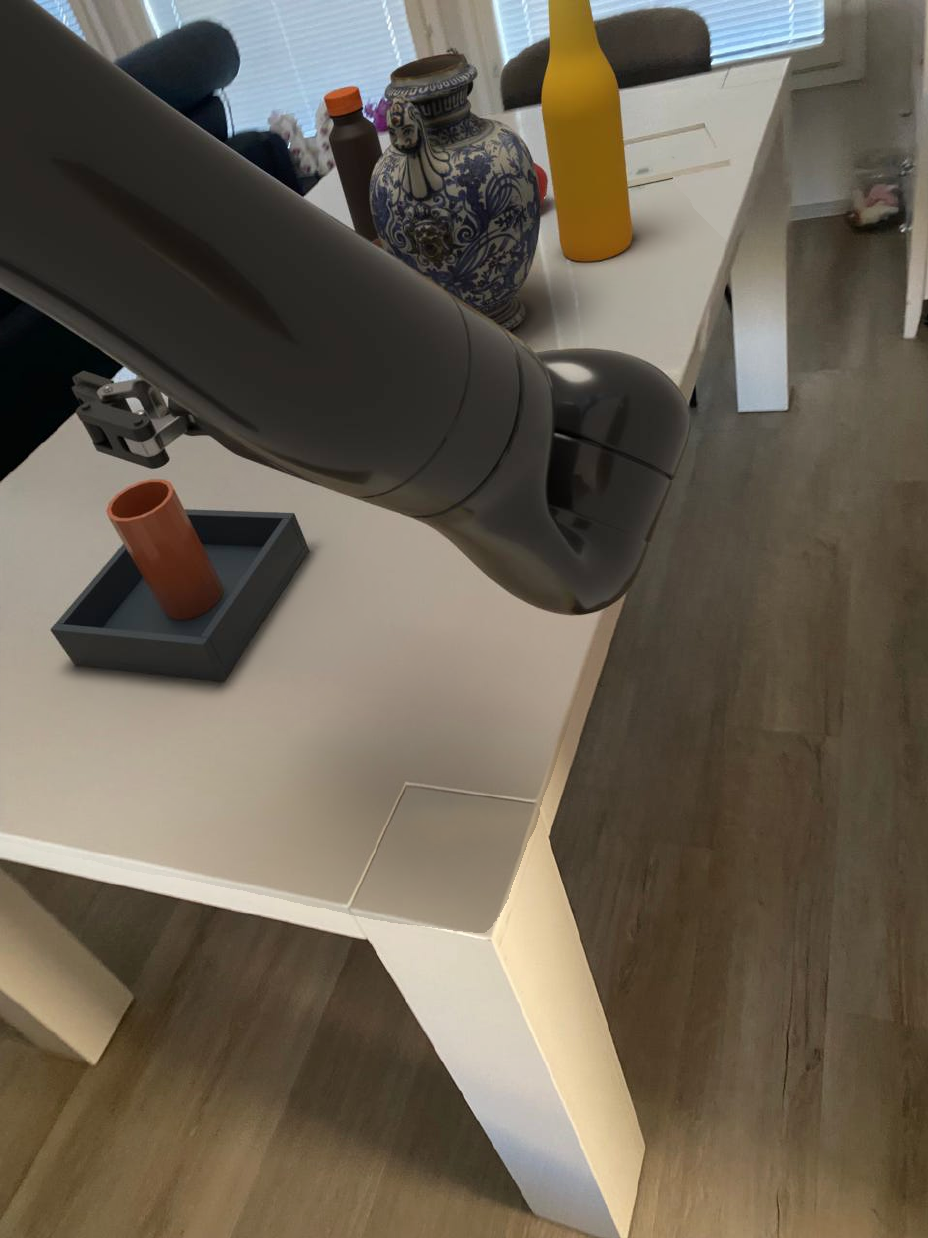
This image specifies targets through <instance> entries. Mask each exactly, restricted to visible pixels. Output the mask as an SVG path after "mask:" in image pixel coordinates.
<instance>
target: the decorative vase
mask: <svg viewBox="0 0 928 1238" xmlns="http://www.w3.org/2000/svg"><path fill="white" fill-rule="evenodd" d="M478 75H479V73H478V70H477V68H476V66H474V65H473V64H471V63H468V60H467V57H466V56H465V54H464V53H460V52H459V50H458V49H457V48H456V47H453V46H452V47H451V46H450V47H448V48H447V49H446V51H445V53H443V54H436V55H432V56H426V57H422V58H420V59H417V60H413V61H410V62H408V63H405V64H403V65H401V66H399V67H397V68H396V69H395V70H393V71H392V72H391V73H390V76H389V77H390V83H389V84H388V85H387V86H386V87H385V89H384V92H383V93H384V94H383V95H384V98H385V99H386V100H387V101H390V102H392V105H391V107H390V108H386V111H385V123H386V129H387V133H388V136H389V137H388V138H389V141H390V144H389V145H388V146H387V148H386V149H385V151H384V152H382V153H383V155H382V156H381V157H380V159H379V160H378V162H377V163H376V165H375V168H374V170H373V173H372V176H371V181H370V189H369V196H370V206H371V212H372V216H373V221H374V224H375V228H376V231H377V234H378V237H379V239H380V242H381V244H382V246H383V249H384V250H385V251H387V252H388V253H390V254H391V255H393V256H395V257H396V258H398V259H399V260H401V261H402V262H404V263H406V264H407V265H409V266H410V267H412V268H413V269H415V270H416V271H418V272H420V273H421V274H423V275H424V276H426V277H427V278H429V279H431V280H432V281H434V282H435V283H437V284H438V285H439V286H441V287H442V288H444V289H446V290H447V291H449V292H450V293H452V294H453V295H455V296H456V297H458V298H459V299H461V300H462V301H464V302H465V303H467V304H468V305H470V306H471V307H473V308H474V309H476V310H478V311H479V312H481V313H482V314H484V315H485V316H487V317H488V318H490V319H491V320H493V321H494V322H496V323H497V324H499V325H500V326H502V327H503V328H505V329H507V330H508V331H510V332H511V331H513V330H514V329H516V328H517V327H518V326H519V325H520V324H521V323H522V322H523V321H524V319H525V316H526V309H525V308H526V307H525V305H524V303H523V302H522V301H521V300H520V299H519V298H517V297H515V296H516V295H517V293H518V292H519V291H520V289H521V288H522V287H523V285H524V284H525V282H526V280H527V278H528V276H529V273H530V271H531V268H532V266H533V262H534V259H535V255H536V251H537V246H538V241H539V234H540V229H541V214H542V213H541V212H542V211H541V210H542V208H541V204H540V192H539V184H538V178H537V173H536V169H535V165H534V163H535V162H534V159H533V156H532V154H531V151H530V149H529V147H528V145H527V144H526V142H525V141H524V139H523V138H522V137H521V136H520V134H518V133H517V132H516V131H515V130H514V129H513V128H512V127H511V126H509V125H507V124H506V123H504V122H501V121H498V120H495V119H490V118H484V117H480V116H479V115H478V114H476V113H474V112H472V111H471V109H472V103H471V101H470V100H469V99H468V97H469V96H470V95H471V93H472V91H473V89H474V81H475V79H477V77H478Z"/></svg>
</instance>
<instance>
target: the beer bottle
mask: <svg viewBox="0 0 928 1238" xmlns="http://www.w3.org/2000/svg"><path fill="white" fill-rule="evenodd" d="M547 1H548V3H547V4H548V6H547V7H548V27H549V28H548V29H549V30H548V31H549V57H548V63H547V67H546V70H545V73H544V78H543V83H542V88H541V98H540V100H541V115H542V122H543V128H544V135H545V141H546V149H547V157H548V163H549V170H550V177H551V184H552V191H553V198H554V207H555V211H556V220H557V226H558V236H559V244H560V248H561V250H562V253H563V255H564V256H565V257H566V258H568V259H569V260H571V261H575V262H582V263H583V262H584V263H585V262H586V263H588V262H597V261H602V260H607V259H610V258H612V257H615V256H617V255H619V254H621V253H622V252H624V251H625V250H627V249H628V248H629V246H630V245H631V243H632V241H633V222H632V215H631V207H630V196H629V187H628V183H627V172H626V167H627V164H626V163H627V162H626V153H625V151H626V150H625V146H624V140H623V139H624V131H623V119H622V109H621V106H622V105H621V94H620V89H619V85H618V80H617V78H616V77H617V76H616V74H615V72H614V70H613V68H612V66H611V64H610V63H609V60H608V59H607V57H606V55H605V54H604V52H603V50H602V48H601V46H600V43H599V40H598V35H597V31H596V27H595V26H596V25H595V22H594V17H593V11H592V5H591V1H590V0H547Z"/></svg>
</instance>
